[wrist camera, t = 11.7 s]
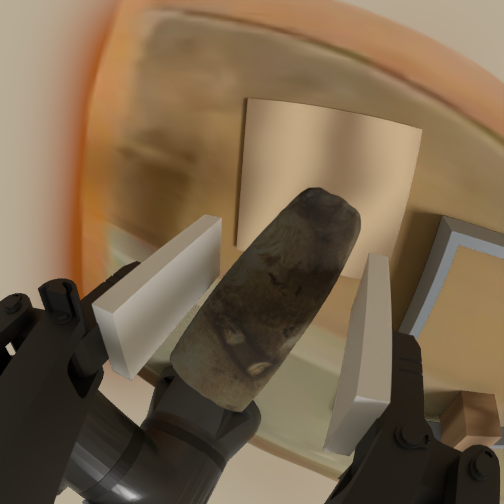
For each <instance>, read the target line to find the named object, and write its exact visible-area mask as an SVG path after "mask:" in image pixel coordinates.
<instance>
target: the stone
mask: <svg viewBox="0 0 504 504" xmlns="http://www.w3.org/2000/svg"><path fill="white" fill-rule="evenodd" d="M360 231H361V218H360V214H359V212H358V211H357V210H356V208H354V207H352V206H351V205H350V204H348V202H347V201H346V200H344V199H343V198H342V197H340V196H338V195H334V194H331V193H329V192H328V191H326V190H324V189H323V188H321V187H310V188H307V189H306V190H304V191H302V192H301V193H300V194H299V195H297V196H296V197H295V198H294V199H293V200H292V201H291V202H290V203H289V204H288V205H287V206H286V207H285V208H284V209H283V210H282V211H281V212H280V213H279V214H278V215H277V217H276V218H275V219H274V220H273V221H272V222H271V223H270V224H269V225H268V226H267V227H266V228H265V229H264V230H263V231H262V232H261V233H260V235H259V236H258V237H257V238H256V239H255V240H254V241H253V242H252V244H251V245H250V246H249V247H248V248H247V249H246V250H245V251H244V253H243V254H242V255H241V256H240V257H239V259H238V260H237V261H236V262H235V263H234V265H233V266H232V267H231V268H230V269H229V271H228V272H227V273H226V275H225V276H224V277H223V278H222V280H221V281H220V282H219V284H218V285H217V286H216V288H215V289H214V290H213V291H212V293H211V294H210V296H209V297H208V298H207V300H206V301H205V302H204V304H203V305H202V307H201V308H200V309H199V311H198V312H197V314H196V315H195V317H194V318H193V320H192V321H191V323H190V324H189V326H188V327H187V329H186V330H185V332H184V333H183V335H182V336H181V338H180V339H179V341H178V343H177V345H176V346H175V348H174V350H173V351H172V353H171V355H170V361H171V363H172V365H173V368H174V369H175V371H176V372H177V373H178V375H179V376H180V377H181V378H182V379H183V380H184V381H185V382H186V384H188V385H189V386H191V387H192V388H193V389H195V390H197V391H198V392H199V393H200V394H201V395H202V396H203V397H206V398H208V399H210V400H212V401H213V402H215V403H216V404H217V405H219V406H220V407H223V408H225V409H228V410H231V411H234V412H242V411H243V410H244V409H245V408H246V407H247V406H248V405H249V404H250V402H251V401H252V400H253V399H254V398H255V397H256V396H257V394H258V393H259V392H260V391H261V390H262V389H263V387H264V386H265V385H266V384H267V382H268V381H269V380H270V379H271V377H272V376H273V375H274V373H275V372H276V371H277V369H278V368H279V367H280V366H281V364H282V363H283V361H284V360H285V359H286V357H287V356H288V354H289V353H290V351H291V350H292V348H293V347H294V345H295V343H296V342H297V341H298V340H299V339H300V338H301V336H302V335H303V334H304V332H305V330H306V329H307V327H308V326H309V325H310V323H311V322H312V320H313V319H314V317H315V316H316V314H317V313H318V311H319V309H320V308H321V306H322V305H323V303H324V301H325V300H326V298H327V297H328V295H329V294H330V292H331V290H332V288H333V287H334V285H335V283H336V281H337V280H338V278H339V276H340V274H341V272H342V270H343V268H344V266H345V264H346V262H347V260H348V258H349V256H350V254H351V252H352V250H353V248H354V246H355V244H356V241H357V239H358V236H359V234H360Z"/></svg>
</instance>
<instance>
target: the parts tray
mask: <svg viewBox="0 0 504 504" xmlns="http://www.w3.org/2000/svg"><path fill="white" fill-rule="evenodd" d="M458 245H460V246H463V247H467V248H470V249H473V250H477V251H480V252H483V253H487V254H490V255H493V256H496V257H499V258H502V259H504V235H503V234H500V233H497V232H494V231H491V230H488V229H485V228H482V227H479V226H476V225H473V224H470V223H467V222H464V221H461V220H457V219H454V218H451V217H447V216H444V215H442V218H441V221H440V224H439V228H438V231H437V234H436V237H435V240H434V243H433V246H432V249H431V252H430V254H429V257H428V260H427V263H426V266H425V268H424V271H423V273H422V276H421V279H420V281H419V284H418V286H417V289H416V291H415V294H414V296H413V298H412V301H411V303H410V306H409V308H408V310H407V312H406V315H405V317H404V319H403V321H402V324H401V326H400V328H399V330H398V332H400V333H404V334H409V335H413V336H414V337H415V339H416V340H417V338H418V336H419V334H420V332H421V330H422V329H423V327H424V325H425V323H426V320H427V318H428V316H429V314H430V312H431V310H432V308H433V306H434V304H435V301H436V299H437V297H438V295H439V293H440V290H441V288H442V286H443V283H444V281H445V278H446V276H447V274H448V271H449V269H450V266H451V264H452V261H453V258H454V256H455V253H456V250H457V248H458ZM426 422H427V423H428V424H429V425H430V427H431V428H432V431H433V434H434V437H435V438H436V439H437V440H438V441H440V442H441V430H440V423H438V422H429V421H426ZM501 434H502V437H501V438H500V439H499V440H498V441H497V442H496V443H495V444H494V445H493V446H491V447H490V449H497V448H504V427H501Z"/></svg>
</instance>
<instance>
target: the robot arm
mask: <svg viewBox="0 0 504 504" xmlns="http://www.w3.org/2000/svg"><path fill="white" fill-rule="evenodd" d="M221 221H222V218H220V217H215V216H210V215H203V216H202V217H201V218H199V219H198V220H197V221H195V222H194V223H193V224H191V225H190V226H189V227H187V228H186V229H185V230H183V231H182V232H181V233H179V234H178V235H177V236H175V237H174V238H173V239H172V240H170V241H169V242H168V243H166V244H165V245H164V246H162V247H161V248H160V249H159V250H157V251H156V252H155V253H154V254H152V255H151V256H150V257H148V258H147V259H146V260H145V261H143V262H142V263H141V262H137V261H136V262H133V263H131V264H128V265H126V266H123V267H122V268H121V269H119V270H118V271H117V272H116V273H114V275H113V276H111V277H109V278H108V279H107V280H106V282H103V283H102V284H100V285H99V286H98V287H97V288H95V289H94V290H93V291H92V292H90V293H89V294H88V295H87V296H85V297H84V298H83V299H82V300H81V301H80V298H79V294H78V290H77V287H76V284H75V283H74V282H73V281H72V280H69V279H60V278H59V279H54V280H51V281H48V282H46V283H44V284H43V285H42V286H40V287H39V288H38V290H39V293H40V296H41V299H42V302H43V305H44V307H45V310H42V309H37V308H33V307H32V304H31V301H30V299H29V297H28V296H27V295H25V294H22V293H15V294H12V295H9V296H7V297H6V298H4V299H3V300H2V301H0V504H54V501H55V498H56V496H58V495H59V494H60V493H61V492H62V491H63V490H65V489H66V488H67V487H70V488H71V489H72V490H74V491H75V492H76V493H78V494H79V495H80V496H82V497H83V498H85V499H86V500H84V501H83V504H207V502H208V500H209V498H210V496H211V494H212V492H213V490H214V488H215V486H216V484H217V482H218V480H219V478H220V476H221V474H222V472H223V470H224V468H225V466H226V464H227V462H228V461H229V459H230V458H232V457H233V455H235V454H236V453H237V452H238V451H239V450H240V449H241V448H242V447H243V446H244V445H245V444H246V443H247V442H248V441H249V440H250V439H251V438H252V437H253V436H254V434H255V433H256V431H257V429H258V427H259V425H260V422H261V414H260V411H259V408H258V407H257V405H256V403H255V402H254V401H253V400H252V401H251V402H250V404H249V405H248V406H247V407H246V408H245V409H244V410H243V411H242V412H234V411H231V410H228V409H225V408H223V407H220V406H219V405H217V404H216V403H215V402H213V401H212V400H210V399H208V398H206V397H203V396H202V395H201V394H200V393H199V392H198V391H197V390H195V389H193V388H192V387H191V386H189V385H188V384H186V382H185V381H184V380H183V379H182V378H181V377H180V376H179V375H178V373H177V372H176V371H175V369H174V368H173V366H170V367H168V368H166V369H165V370H164V371H163V373H162V374H161V375H160V377H159V378H158V380H157V382H156V385H155V389H154V393H153V396H152V400H151V403H150V407H149V411H148V414H147V417H146V419H145V420H144V421H143V423H142V424H141V426H140V427H139V426H138V425H136V424H135V423H134V422H133V421H132V420H131V419H130V418H128V417H127V416H126V415H125V414H124V413H123V412H121V411H120V410H119V409H118V408H117V407H116V406H115V405H114V404H113V403H111V402H110V401H109V400H108V399H107V398H106V397H105V396H104V395H103V394H102V393H101V392H100V391H99V390H98V388H99V386H100V384H101V381H102V379H103V375H104V371H103V367H102V365H103V364H104V363H105V362H106V361H107V360H108V359H109V362H110V364H111V367H112V369H113V371H114V372H116V373H118V374H120V375H122V376H124V377H126V378H128V379H130V380H132V379H133V378H134V377H135V376H136V374H137V373H138V372H139V371H140V370H141V368H142V367H143V366H144V365H145V364H146V362H147V361H148V360H149V359H150V358H151V356H152V355H153V354H154V353H155V352H156V350H157V349H158V348H159V347H160V345H161V344H162V343H163V342H164V341H165V339H166V338H167V337H168V336H169V335H170V333H171V332H172V331H173V330H174V329H175V327H176V326H177V325H178V324H179V323H180V321H181V320H182V319H183V318H184V317H185V315H186V314H187V313H188V312H189V311H190V309H191V308H192V307H193V306H194V305H195V304H196V302H197V301H198V300H199V299H200V298H201V296H202V295H203V294H204V293H205V292H206V290H207V289H208V288H209V287H210V286H211V284H212V283H213V282H214V281H215V280H216V278H217V277H218V276H219V275H220V247H221ZM9 343H11V345H12V346H13V348H14V350H15V352H16V353H15V355H10V354H9V353H8V351H7V349H6V347H5V346H6V345H7V344H9ZM421 362H422V358H421V348H420V346H419V345H418V343H417V341H416V339H415V337H414V336H413V335H409V334H404V333H400V332H395V331H392V314H391V290H390V274H389V261H388V257H387V256H383V255H379V254H375V253H371V252H369V254H368V258H367V261H366V264H365V268H364V271H363V275H362V278H361V281H360V284H359V288H358V291H357V294H356V297H355V300H354V303H353V306H352V309H351V316H350V322H349V329H348V335H347V341H346V347H345V353H344V358H343V364H342V369H341V374H340V379H339V384H338V389H337V394H336V398H335V403H334V407H333V412H332V416H331V420H330V424H329V428H328V432H327V436H326V440H325V444H324V448H323V451H327V452H331V453H336V454H341V455H346V456H350V454H351V453H352V452H353V451H354V450H355V454H354V459H353V463H352V464H351V465H350V466H349V467H348V468H347V469H346V471H345V472H344V473H343V474H342V475H341V476H340V477H339V478H338V479H340V481H339V482H338V484H337V485H336V487H335V489H334V490H333V492H332V493H331V495H330V496H329V498H328V499H327V500H326V502H325V503H324V504H499V502H500V466H499V460H498V458H497V456H496V454H495V453H494V451H492V450H491V449H490V448H489V447H487V446H484V445H481V444H478V445H472V446H470V447H469V448H467V449H465V450H464V451H463V452H461V451H459V450H457V449H455V448H452V447H450V446H448V445H446V444H443V443H442V442H440V441H438V440H437V439H436V438H435V437H434V434H433V431H432V428H431V427H430V425H429V424H428V423H427V422H426V420H425V417H424V390H423V375H422V373H423V372H422V364H421ZM355 448H356V449H355Z"/></svg>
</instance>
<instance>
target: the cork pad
mask: <svg viewBox="0 0 504 504" xmlns="http://www.w3.org/2000/svg"><path fill="white" fill-rule="evenodd" d="M421 135H422V129H419V128H416V127H412V126H408V125H405V124H401V123H397V122H393V121H389V120H385V119H381V118H376V117H372V116H367V115H362V114H358V113H353V112H348V111H342V110H337V109H331V108H325V107H319V106H313V105H306V104H299V103H291V102H283V101H274V100H264V99H253V98H248V102H247V114H246V127H245V139H244V152H243V165H242V178H241V192H240V206H239V220H238V235H237V250H240V251H245V250H246V249H247V248H248V247H249V246H250V245H251V244H252V242H253V241H254V240H255V239H256V238H257V237H258V236H259V235H260V233H261V232H262V231H263V230H264V229H265V228H266V227H267V226H268V225H269V224H270V223H271V222H272V221H273V220H274V219H275V218H276V217H277V215H278V214H279V213H280V212H281V211H282V210H283V209H284V208H285V207H286V206H287V205H288V204H289V203H290V202H291V201H292V200H293V199H294V198H295V197H296V196H297V195H299V194H300V193H301V192H302V191H304V190H306V189H307V188H310V187H321V188H323V189H324V190H326V191H328V192H329V193H331V194H334V195H338V196H340V197H342V198H343V199H344V200H346V201H347V202H348V204H350V205H351V206H352V207H354V208H356V210H357V211H358V212H359V214H360V218H361V231H360V234H359V236H358V239H357V241H356V244H355V246H354V248H353V250H352V252H351V254H350V256H349V258H348V260H347V262H346V264H345V266H344V268H343V270H342V272H341V274H340V275H342V276H346V277H350V278H354V279H359V280H361V278H362V275H363V271H364V268H365V264H366V261H367V258H368V254H369V252H371V253H375V254H379V255H383V256H387V257H388V261H389V263H390V260H391V257H392V254H393V250H394V247H395V244H396V240H397V237H398V234H399V230H400V227H401V223H402V219H403V216H404V212H405V208H406V204H407V200H408V196H409V192H410V188H411V184H412V180H413V175H414V171H415V166H416V161H417V156H418V151H419V146H420V141H421Z"/></svg>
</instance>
